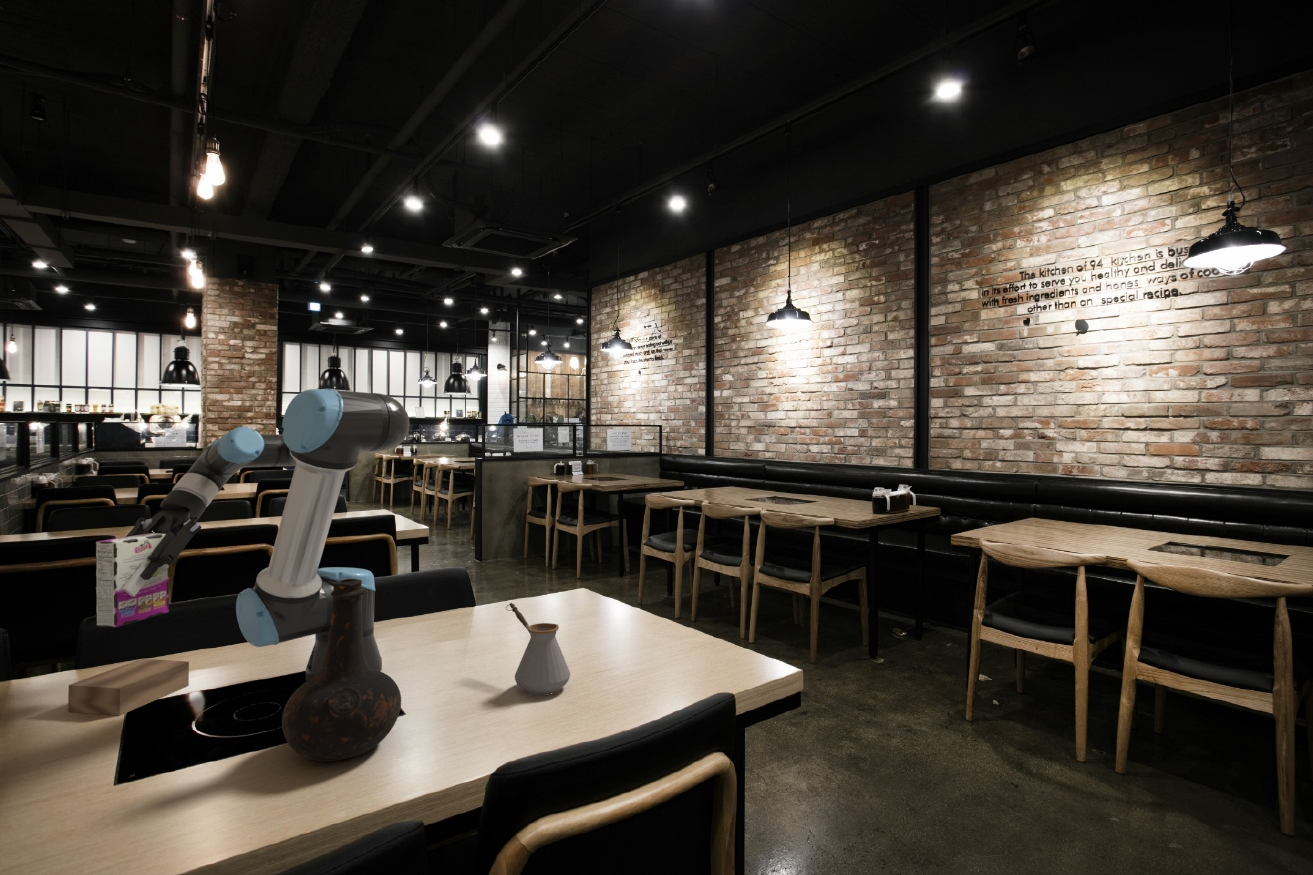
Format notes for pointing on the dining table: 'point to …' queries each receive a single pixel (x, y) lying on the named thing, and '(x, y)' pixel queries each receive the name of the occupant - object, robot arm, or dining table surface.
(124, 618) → the candy bar box
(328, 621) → the robot arm
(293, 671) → the dining table surface
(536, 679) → the coffee pot
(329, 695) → the brown bottle vase
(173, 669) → the walnut plinth
